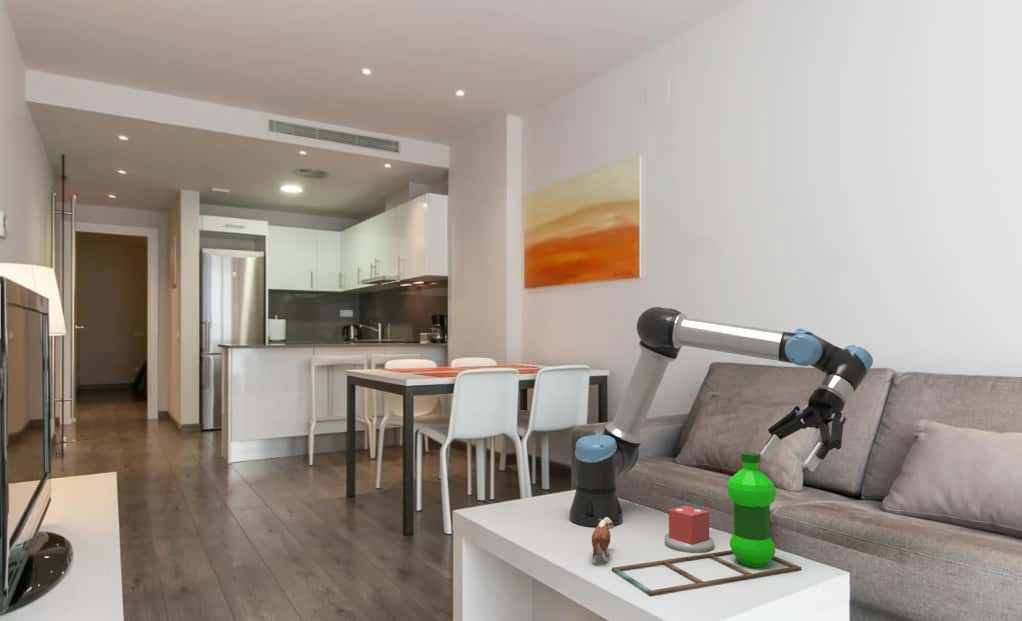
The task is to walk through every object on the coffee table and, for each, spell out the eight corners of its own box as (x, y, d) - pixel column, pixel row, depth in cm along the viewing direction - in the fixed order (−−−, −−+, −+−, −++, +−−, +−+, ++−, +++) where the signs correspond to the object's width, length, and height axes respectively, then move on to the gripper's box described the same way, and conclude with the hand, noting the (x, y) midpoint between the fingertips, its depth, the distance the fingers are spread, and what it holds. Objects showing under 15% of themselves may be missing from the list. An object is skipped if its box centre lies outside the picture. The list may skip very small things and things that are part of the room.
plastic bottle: (734, 569, 139) (732, 457, 140) (726, 554, 149) (724, 449, 151) (781, 572, 137) (778, 458, 138) (769, 556, 147) (767, 450, 149)
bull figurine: (616, 549, 153) (616, 515, 153) (606, 568, 140) (606, 531, 140) (598, 547, 154) (598, 514, 154) (587, 565, 141) (587, 529, 142)
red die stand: (654, 543, 157) (654, 508, 158) (684, 534, 164) (684, 501, 165) (694, 556, 148) (693, 519, 148) (724, 546, 155) (723, 511, 155)
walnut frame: (611, 570, 138) (611, 567, 138) (752, 549, 153) (752, 546, 153) (650, 596, 124) (650, 593, 124) (801, 570, 139) (801, 567, 139)
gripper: (884, 413, 144) (838, 483, 137) (798, 403, 167) (756, 463, 160) (867, 390, 142) (820, 461, 136) (782, 384, 165) (739, 444, 159)
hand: (785, 462), depth 148 cm, fingers open, 13 cm apart
